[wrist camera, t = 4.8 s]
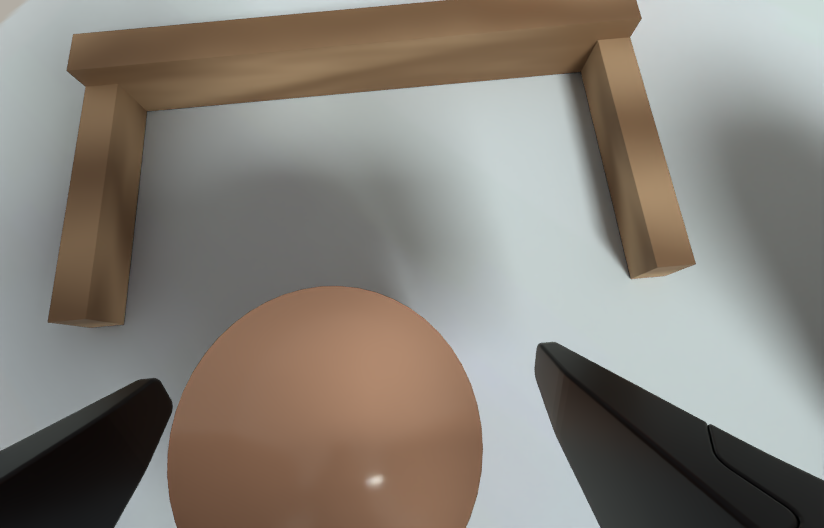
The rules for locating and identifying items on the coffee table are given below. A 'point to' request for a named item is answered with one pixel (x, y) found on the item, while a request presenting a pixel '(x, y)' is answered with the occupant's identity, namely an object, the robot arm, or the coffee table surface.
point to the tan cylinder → (326, 421)
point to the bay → (337, 74)
